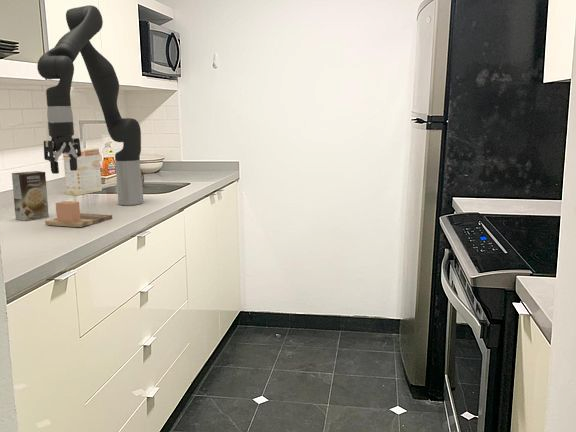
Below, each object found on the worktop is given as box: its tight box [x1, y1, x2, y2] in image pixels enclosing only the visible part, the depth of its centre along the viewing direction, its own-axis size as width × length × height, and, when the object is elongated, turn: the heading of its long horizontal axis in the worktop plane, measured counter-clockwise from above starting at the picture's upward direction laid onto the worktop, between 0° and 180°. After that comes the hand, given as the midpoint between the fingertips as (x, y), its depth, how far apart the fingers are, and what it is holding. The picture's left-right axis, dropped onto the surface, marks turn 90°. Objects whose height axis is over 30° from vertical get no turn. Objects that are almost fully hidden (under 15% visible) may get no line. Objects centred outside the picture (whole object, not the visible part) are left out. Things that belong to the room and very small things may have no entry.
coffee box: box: [11, 170, 50, 222], centre depth 204 cm, size 9×6×16 cm
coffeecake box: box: [62, 147, 103, 196], centre depth 262 cm, size 15×7×20 cm, turn 152°
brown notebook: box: [80, 212, 113, 225], centre depth 200 cm, size 10×14×1 cm
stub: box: [44, 200, 94, 228], centre depth 192 cm, size 6×14×7 cm, turn 70°
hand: (64, 171), depth 189 cm, fingers open, 8 cm apart
